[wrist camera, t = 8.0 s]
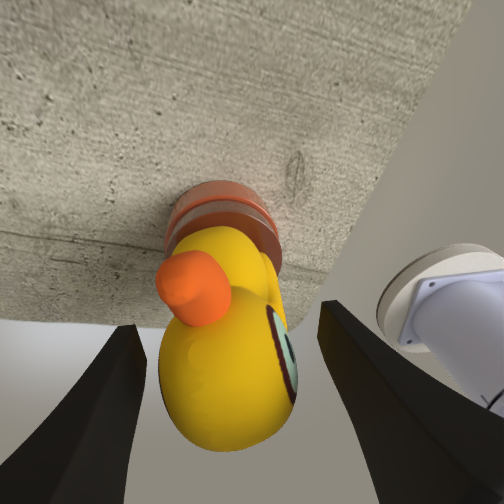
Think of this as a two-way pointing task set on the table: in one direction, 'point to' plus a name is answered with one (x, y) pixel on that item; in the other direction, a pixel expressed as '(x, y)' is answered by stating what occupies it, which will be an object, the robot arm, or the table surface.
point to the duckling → (224, 342)
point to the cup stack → (224, 217)
